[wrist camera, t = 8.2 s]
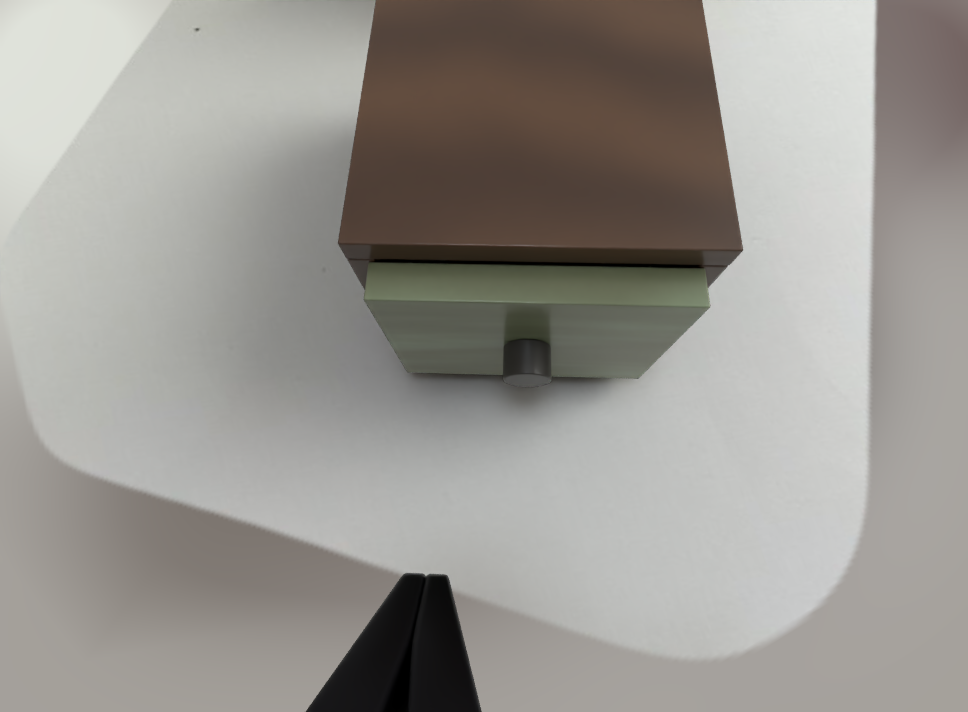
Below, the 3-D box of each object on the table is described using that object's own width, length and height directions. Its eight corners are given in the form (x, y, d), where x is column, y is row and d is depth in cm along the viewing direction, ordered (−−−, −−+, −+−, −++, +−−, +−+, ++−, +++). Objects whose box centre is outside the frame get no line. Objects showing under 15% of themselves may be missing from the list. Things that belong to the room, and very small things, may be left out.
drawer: (641, 408, 19) (716, 349, 12) (404, 401, 19) (357, 340, 13) (620, 133, 23) (668, -15, 17) (429, 131, 24) (404, -15, 17)
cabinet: (644, 358, 20) (744, 250, 12) (399, 352, 21) (337, 243, 13) (625, 112, 25) (688, -88, 17) (423, 110, 25) (388, -86, 17)
